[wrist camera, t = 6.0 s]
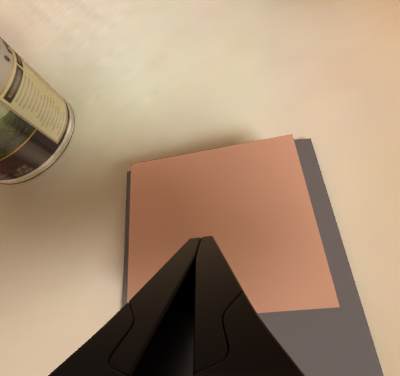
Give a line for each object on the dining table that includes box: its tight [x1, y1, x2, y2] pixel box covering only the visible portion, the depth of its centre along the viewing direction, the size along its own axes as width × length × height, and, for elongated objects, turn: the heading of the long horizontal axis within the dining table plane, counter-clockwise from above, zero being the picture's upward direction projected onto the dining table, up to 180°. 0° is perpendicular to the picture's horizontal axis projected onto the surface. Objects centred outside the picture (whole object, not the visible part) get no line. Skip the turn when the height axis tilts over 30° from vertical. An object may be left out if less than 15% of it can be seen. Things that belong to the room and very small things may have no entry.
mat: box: [123, 138, 383, 376], centre depth 16 cm, size 16×14×1 cm
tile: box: [127, 134, 340, 313], centre depth 15 cm, size 3×10×9 cm
